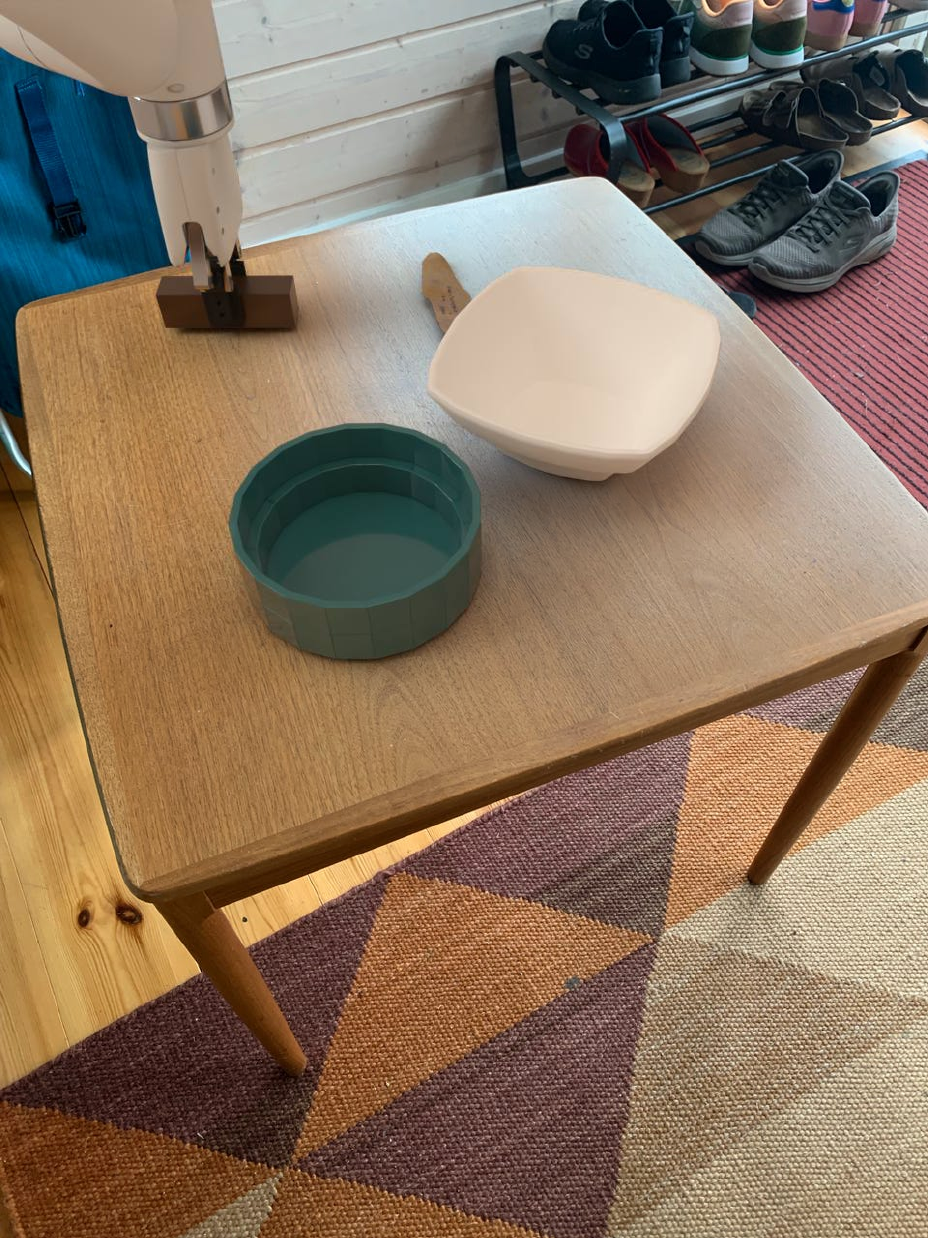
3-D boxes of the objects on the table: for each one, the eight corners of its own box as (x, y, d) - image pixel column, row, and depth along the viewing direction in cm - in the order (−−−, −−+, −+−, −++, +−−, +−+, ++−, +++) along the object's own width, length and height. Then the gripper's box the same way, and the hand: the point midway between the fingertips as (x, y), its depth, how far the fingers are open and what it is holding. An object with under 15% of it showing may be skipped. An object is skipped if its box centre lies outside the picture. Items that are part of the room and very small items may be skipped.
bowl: (401, 480, 74) (392, 396, 67) (503, 333, 85) (506, 248, 78) (648, 562, 68) (667, 480, 62) (724, 394, 79) (747, 308, 73)
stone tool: (403, 262, 91) (441, 353, 82) (407, 247, 90) (445, 338, 81) (452, 267, 93) (495, 356, 84) (456, 252, 92) (499, 341, 83)
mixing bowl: (232, 665, 64) (210, 608, 58) (265, 485, 74) (248, 423, 69) (482, 663, 63) (482, 606, 58) (480, 483, 74) (479, 421, 68)
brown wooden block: (165, 328, 85) (154, 294, 82) (171, 308, 87) (161, 275, 84) (295, 327, 85) (289, 294, 82) (298, 308, 87) (293, 274, 84)
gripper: (154, 59, 76) (206, 263, 90) (107, 158, 66) (174, 369, 80) (245, 58, 76) (282, 262, 90) (212, 158, 66) (260, 369, 80)
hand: (231, 311), depth 85 cm, fingers closed on brown wooden block, 3 cm apart
